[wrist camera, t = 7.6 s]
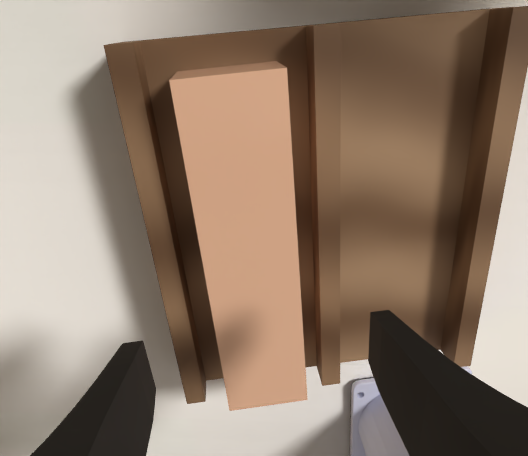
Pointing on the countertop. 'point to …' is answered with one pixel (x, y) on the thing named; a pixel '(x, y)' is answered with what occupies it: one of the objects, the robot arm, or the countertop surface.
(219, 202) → the clay strip
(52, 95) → the countertop surface
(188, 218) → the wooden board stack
